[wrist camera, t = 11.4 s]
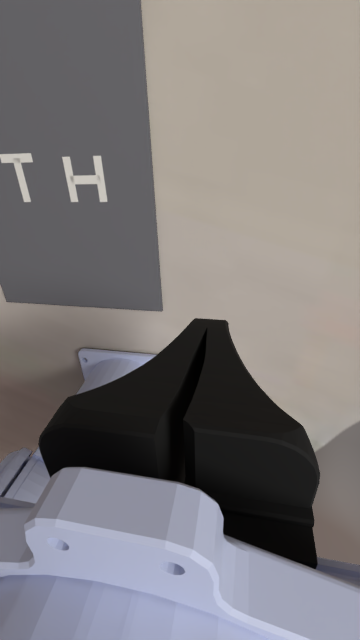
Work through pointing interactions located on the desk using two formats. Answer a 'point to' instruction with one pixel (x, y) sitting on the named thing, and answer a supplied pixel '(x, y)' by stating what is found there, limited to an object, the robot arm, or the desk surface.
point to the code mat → (76, 156)
